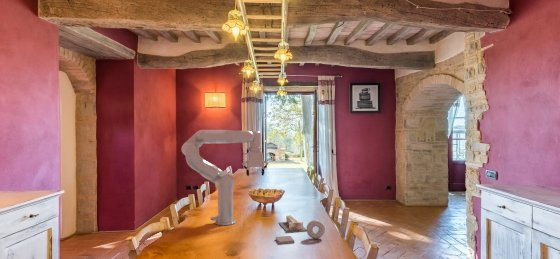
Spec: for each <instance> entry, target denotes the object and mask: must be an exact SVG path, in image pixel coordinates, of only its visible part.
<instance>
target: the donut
mask: <svg viewBox="0 0 560 259" xmlns="http://www.w3.org/2000/svg"><path fill="white" fill-rule="evenodd" d="M315 227H317V228H318V231H314V228H315ZM305 229H306V230H307V231H306V233H307V235H308V236H309V238H311V239H315V240H317V239H320V238H322V237H323V236H324V234H325V233H326V228H325V224H324V223H323V222H322V221H321V220H319V219H313V220H311V221H309V222H308V223H307V225H306V228H305Z"/></svg>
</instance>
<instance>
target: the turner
mask: <svg viewBox="0 0 560 259" xmlns="http://www.w3.org/2000/svg"><path fill="white" fill-rule="evenodd" d="M285 222H287V223H288V224H289V230H299V229H303V227H304V222H303V221H298V220H296V218H294V217H293V216H292V215H286V219H285Z"/></svg>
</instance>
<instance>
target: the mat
mask: <svg viewBox="0 0 560 259" xmlns="http://www.w3.org/2000/svg"><path fill="white" fill-rule="evenodd" d="M278 224H279V226H280V227H281V228H282V229H283V230H284V231H285V232H286V233H287V234H289V233H301V232H307V230H306V229H307V228H306V227H305V226H303V229H299V230H289V224H288V223H287V222H286V221H280V222H278Z"/></svg>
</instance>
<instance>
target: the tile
mask: <svg viewBox="0 0 560 259" xmlns="http://www.w3.org/2000/svg"><path fill="white" fill-rule="evenodd" d="M275 240H276V243H278V245H285V244H286V245H288V244H295V239H294V238H293V237H292V236H291V235H284V236H275Z"/></svg>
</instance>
